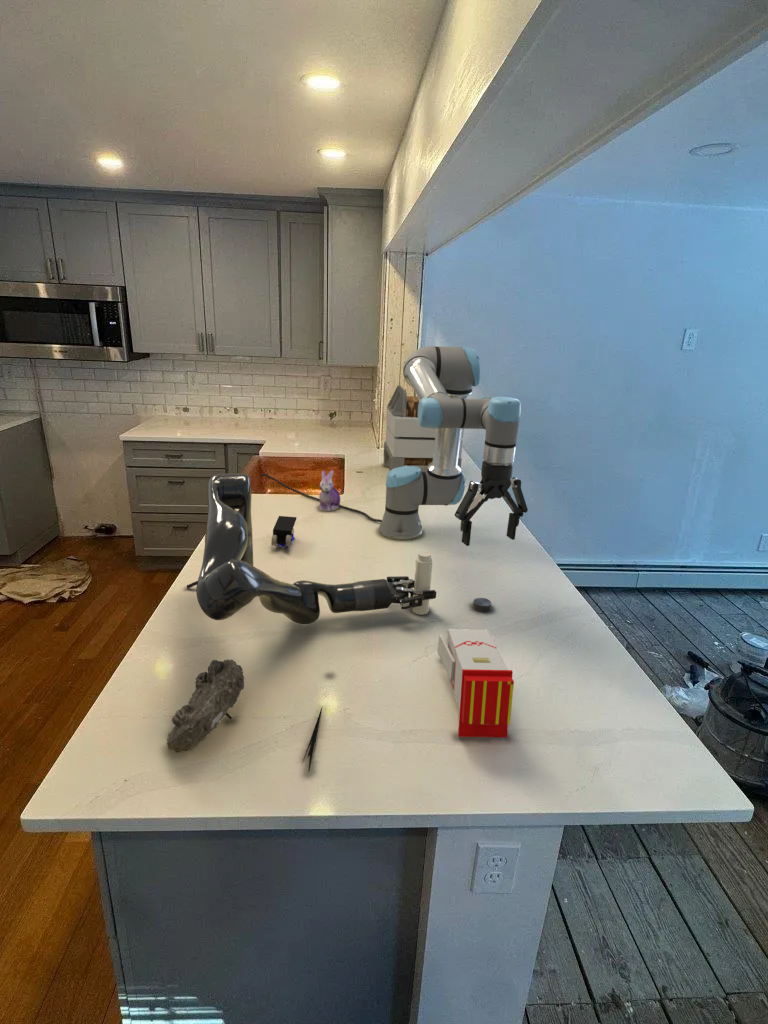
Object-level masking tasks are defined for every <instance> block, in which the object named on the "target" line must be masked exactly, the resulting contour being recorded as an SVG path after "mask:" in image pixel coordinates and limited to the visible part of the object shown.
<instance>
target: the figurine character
mask: <svg viewBox="0 0 768 1024" xmlns="http://www.w3.org/2000/svg"><path fill="white" fill-rule="evenodd" d="M296 522H297V516H287V515H286V516H285V515H279V516H278V517H277V520H276V521H275V524H274V526H273V529H272V536H271V543H270V544H271V547H272V546H273V547H276V548H275V549H276V550H277V551H279V549H280V547H285V548H284V551H287V550H288V549H289V547H290V546H292V542H293V541H294V540H295V529H294V527H295V524H296Z"/></svg>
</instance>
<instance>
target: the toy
mask: <svg viewBox="0 0 768 1024" xmlns="http://www.w3.org/2000/svg"><path fill="white" fill-rule="evenodd" d="M446 640H447V643H446V641H445V639H444V636H443V635H442V634H439V637H438V646H437V656H438V657H439V659H440V661H441V663H442V666H443V668H444V670H445V672H446V674H447V677H448V679H449V681H450V684H451V687H452V690H453V693H454V697H455V701H456V705H457V708H458V711H459V714H458V715H459V716H458V730H457V731H458V732H457V737H458V738H508V731H509V726H510V725H511V717H512V707H513V697H514V696H513V695H514V684H515V680H514V679H513V673H514V671H513V670H512V669H508V667H507V665H506V662H505V661H504V659H503V658H502V655H501V653H500V651H499V649H498V647H497V643H496V639H495V637H494V635H493V634H491V632H490V631H489V629H467V628H466V629H465V628H463V629H461V628H460V629H459V628H448V630H447V639H446Z"/></svg>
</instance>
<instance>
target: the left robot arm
mask: <svg viewBox="0 0 768 1024" xmlns="http://www.w3.org/2000/svg"><path fill="white" fill-rule="evenodd" d="M252 490H253V489H252V481H251V478H250V475H248V473H244V472H242V473H238V472H237V473H234V472H233V473H217V474H213V475H212V476H210V478H209V480H208V483H207V493H206V494H207V518H206V525H205V533H204V549H203V556H202V557H203V558H202V562H201V563H202V564H201V568H200V572H199V575H198V577H197V578H198V579H197V580H196V581H194V582H191V583H189V584H187V585H186V589H190V588H193V587H195V586H196V591H195V592H196V594H195V595H196V599H197V602H198V605H199V607H200V608H201V611H202V612H203V614H204V615H205V616H207V617H208V618H209V619H211V620H214V621H224V620H226V619H228V618H231V617H233V616H234V615H235V614H236V613H238V612H239V611H241V610H242V609H243V608H245V607H246V606H247V605H249V604H250V603H251V602H252V601H253V600H254V599H255V598H257V597H258V599H259V602H260V604H261V605H262V607H263V608H264V609H266V610H267V611H269V612H271V613H274V614H275V613H276V614H282V615H283V616H285V617H286V618H287V619H289V620H290V621H292V622H293V623H296V624H298V625H304V626H305V625H311V624H313V623H316V621H317V620H318V619H319V618H320V616H321V606H320V598H319V596H321V597H323V598H324V599H325V601H326V603H327V606H328V609H329V611H330V612H331V613H333V614H340V613H341V614H342V613H351V612H367V611H376V610H385V609H388V608H390V606H391V605H392V604H398V605H400V609H401V610H409V609H413V608H414V607H418V606H422V605H423V600H428V599H430V600H435V599H436V598H437V591H436V590H435V589H430V590H428V591H422V592H420V591H414V580H415V579H413V578H410V577H409V576H407V575H406V576H405V575H404V576H403V575H402V576H400V575H399V576H386V579H385V578H380V579H370V580H369V579H368V580H360V581H359V580H358V581H355V582H348V583H340V584H339V583H337V584H331V583H330V584H329V583H321V582H316V581H310V580H297V581H295V582H293V583H289V582H284V581H281V580H278V579H276V578H274V577H272V576H271V575H270V574H267V573H266V572H264V571H263V570H261V569H259V568H257V567H256V566H254V543H253V523H252ZM413 595H418V596H413ZM415 602H417V603H415Z"/></svg>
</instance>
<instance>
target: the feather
mask: <svg viewBox="0 0 768 1024" xmlns="http://www.w3.org/2000/svg"><path fill="white" fill-rule="evenodd" d="M329 675H330V676H331V675H332V674H331V673H330V674H329ZM322 710H323V707H321V708H320V710H319V713H318V716H317V719H316V723H315V725H314V728H313V731H312V733H311V737H310V739H309V742H308V745H307V748H306V751H305V754H304V757H303V760H302V763H301V767H302V765H303V763H304V761H305V758H308V759H309V760H308V762H307V763H308V764H307V766H308V771H310V770H311V766H312V765H311V764H312V760H313V757H315V756H314V755H315V751H316V749H315V746H317V739H318V733H319V729H320V722H321V717H322V712H323V711H322ZM313 754H314V755H313ZM306 755H307V757H306Z"/></svg>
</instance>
